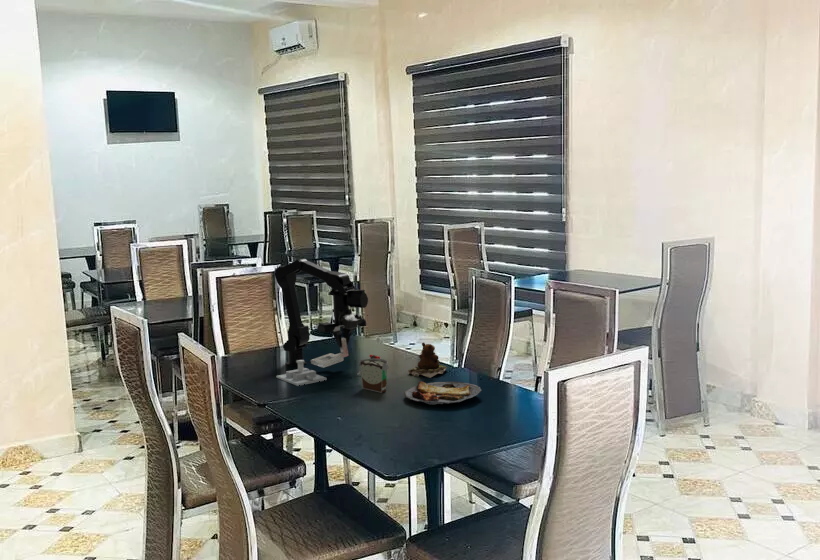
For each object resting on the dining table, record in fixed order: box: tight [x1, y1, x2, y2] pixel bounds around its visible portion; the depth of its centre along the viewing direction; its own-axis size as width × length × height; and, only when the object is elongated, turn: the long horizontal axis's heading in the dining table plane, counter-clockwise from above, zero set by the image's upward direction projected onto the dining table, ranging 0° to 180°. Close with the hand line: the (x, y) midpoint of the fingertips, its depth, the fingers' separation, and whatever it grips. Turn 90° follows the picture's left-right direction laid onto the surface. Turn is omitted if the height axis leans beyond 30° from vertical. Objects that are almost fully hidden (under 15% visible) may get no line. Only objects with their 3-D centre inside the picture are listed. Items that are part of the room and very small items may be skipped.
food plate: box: [403, 381, 482, 406], centre depth 261 cm, size 25×23×4 cm
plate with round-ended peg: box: [275, 359, 327, 387], centre depth 291 cm, size 16×12×7 cm
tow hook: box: [356, 354, 381, 376], centre depth 296 cm, size 7×10×7 cm
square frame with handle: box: [310, 337, 349, 368], centre depth 300 cm, size 14×9×7 cm, turn 127°
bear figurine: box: [407, 342, 448, 378], centre depth 295 cm, size 14×15×12 cm
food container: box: [358, 358, 390, 394], centre depth 274 cm, size 12×6×10 cm, turn 47°
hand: (343, 347), depth 304 cm, fingers closed on square frame with handle, 2 cm apart
